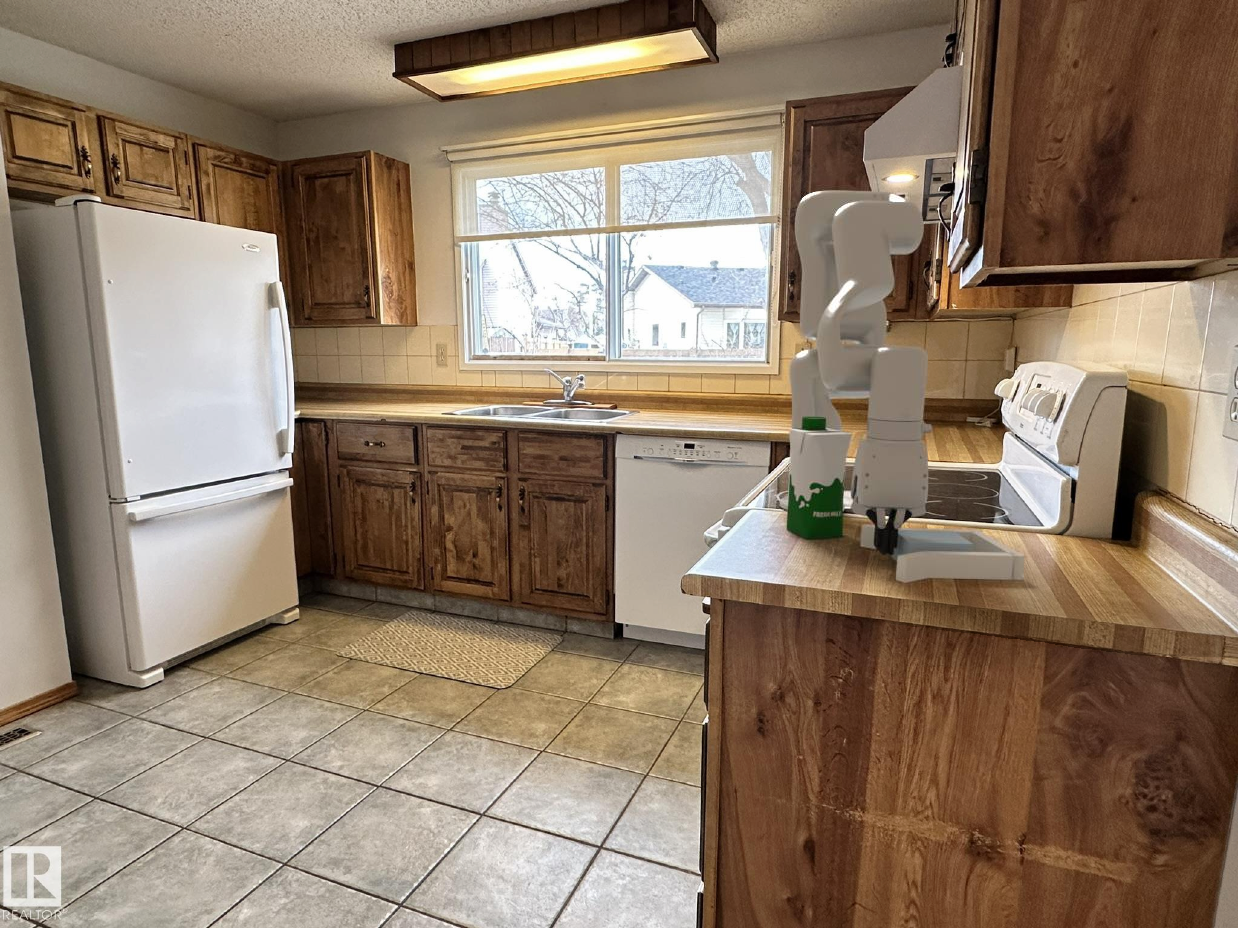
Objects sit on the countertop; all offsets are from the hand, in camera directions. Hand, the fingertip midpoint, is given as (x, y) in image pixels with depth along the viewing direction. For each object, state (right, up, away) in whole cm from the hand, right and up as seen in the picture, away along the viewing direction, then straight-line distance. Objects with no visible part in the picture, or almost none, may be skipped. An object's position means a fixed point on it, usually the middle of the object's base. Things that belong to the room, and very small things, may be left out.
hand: (884, 552), depth 105 cm
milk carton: (-6, +1, +17) cm, 18 cm away
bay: (+8, -2, 0) cm, 8 cm away
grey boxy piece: (+7, -2, 0) cm, 7 cm away
